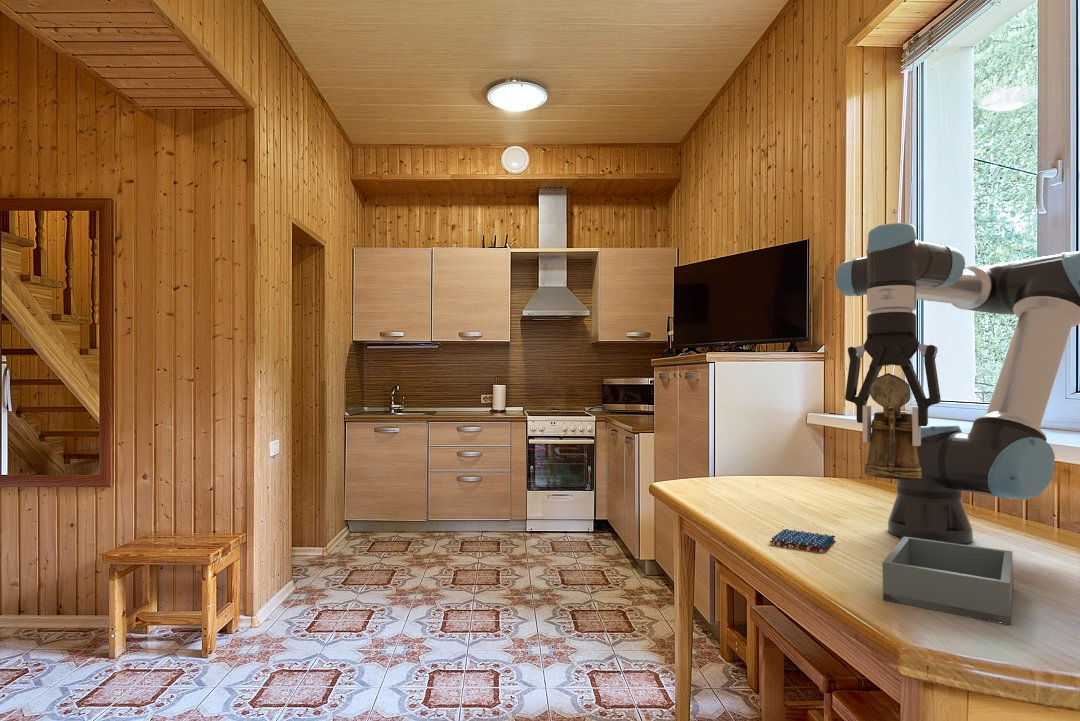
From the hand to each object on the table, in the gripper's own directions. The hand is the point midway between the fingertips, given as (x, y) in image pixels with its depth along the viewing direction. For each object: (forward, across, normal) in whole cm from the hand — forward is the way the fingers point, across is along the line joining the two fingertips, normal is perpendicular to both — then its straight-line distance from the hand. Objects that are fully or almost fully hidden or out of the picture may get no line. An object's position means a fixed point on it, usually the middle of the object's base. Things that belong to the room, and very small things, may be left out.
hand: (891, 443), depth 107 cm
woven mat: (+22, -17, +7) cm, 29 cm away
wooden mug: (+6, 0, 0) cm, 6 cm away
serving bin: (+22, +10, -7) cm, 25 cm away
